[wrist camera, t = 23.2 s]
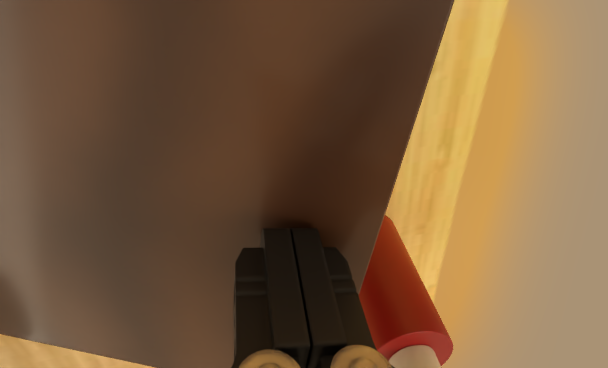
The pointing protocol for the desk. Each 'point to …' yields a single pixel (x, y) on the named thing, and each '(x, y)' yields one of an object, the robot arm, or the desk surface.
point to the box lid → (191, 156)
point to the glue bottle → (401, 307)
